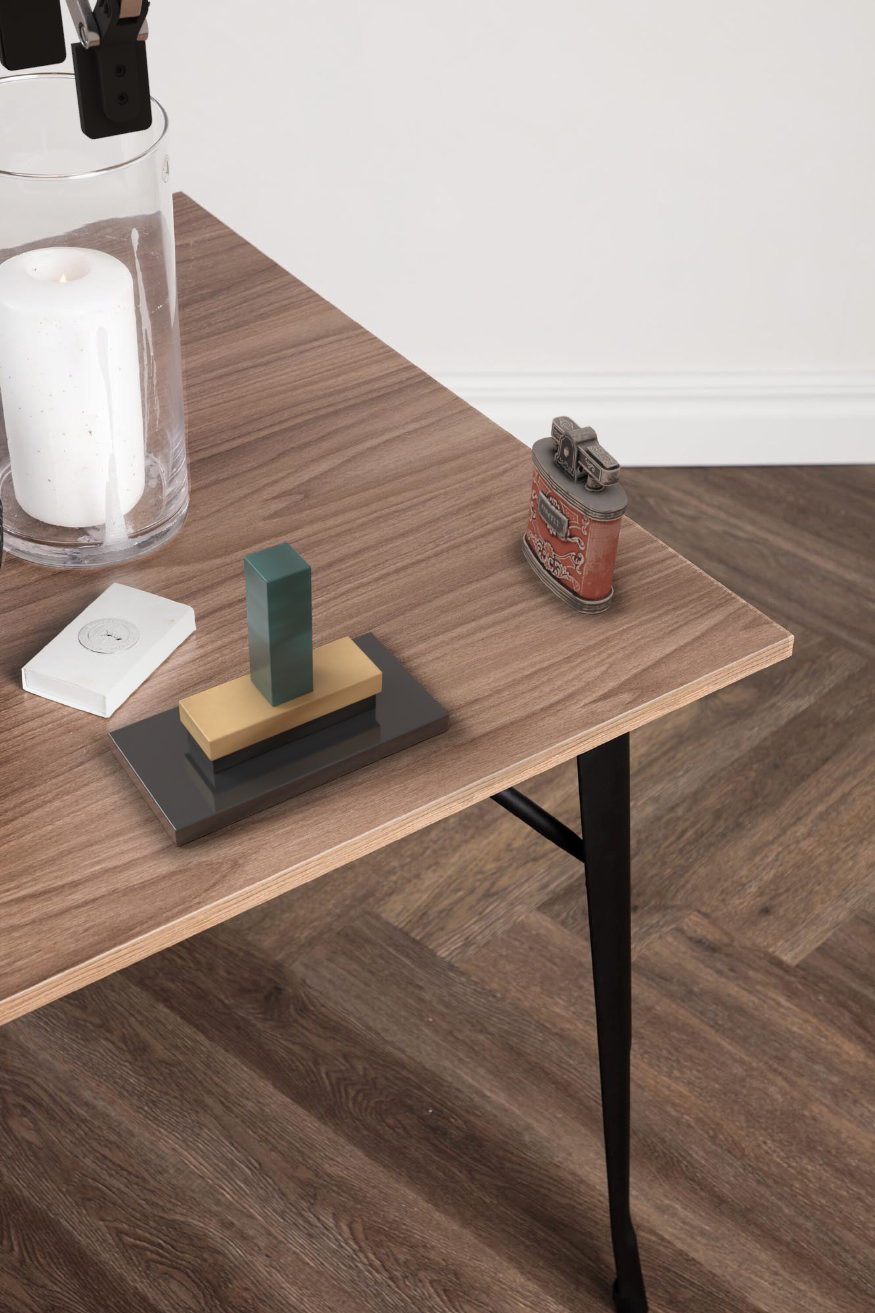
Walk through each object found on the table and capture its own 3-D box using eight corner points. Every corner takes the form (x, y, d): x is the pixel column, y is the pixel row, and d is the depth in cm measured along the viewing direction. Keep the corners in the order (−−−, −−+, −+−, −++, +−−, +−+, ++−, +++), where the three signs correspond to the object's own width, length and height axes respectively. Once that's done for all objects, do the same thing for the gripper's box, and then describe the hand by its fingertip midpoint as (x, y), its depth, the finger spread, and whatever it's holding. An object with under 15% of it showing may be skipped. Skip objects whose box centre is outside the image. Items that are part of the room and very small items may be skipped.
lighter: (509, 545, 89) (522, 406, 82) (556, 532, 90) (572, 395, 84) (576, 619, 84) (596, 477, 77) (624, 605, 85) (648, 464, 78)
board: (177, 847, 69) (175, 831, 68) (109, 748, 74) (107, 732, 73) (449, 730, 76) (450, 713, 75) (370, 646, 81) (371, 630, 80)
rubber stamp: (212, 779, 71) (198, 615, 64) (181, 737, 73) (164, 574, 66) (382, 708, 75) (386, 548, 68) (348, 671, 77) (348, 512, 71)
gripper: (-145, -372, 59) (-67, 53, 70) (9, -312, 48) (71, 178, 59) (28, -375, 62) (76, 32, 73) (208, -319, 52) (231, 146, 63)
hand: (74, 97), depth 66 cm, fingers open, 9 cm apart
